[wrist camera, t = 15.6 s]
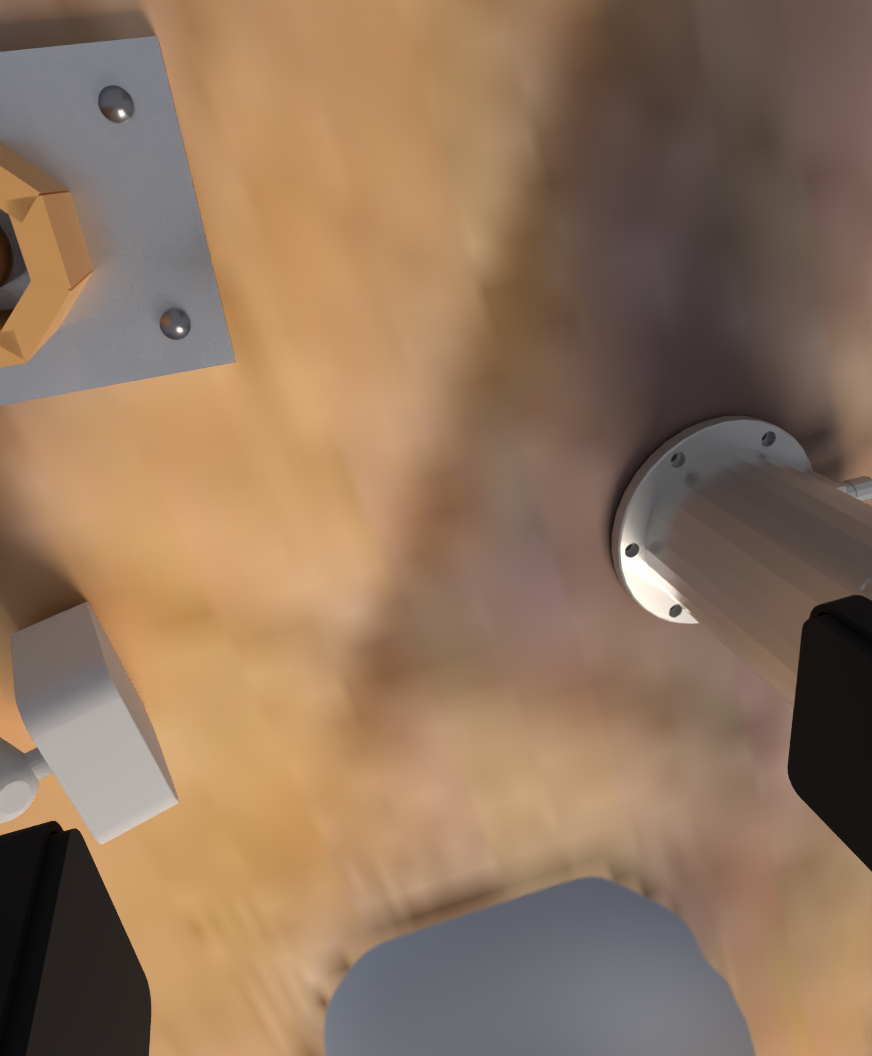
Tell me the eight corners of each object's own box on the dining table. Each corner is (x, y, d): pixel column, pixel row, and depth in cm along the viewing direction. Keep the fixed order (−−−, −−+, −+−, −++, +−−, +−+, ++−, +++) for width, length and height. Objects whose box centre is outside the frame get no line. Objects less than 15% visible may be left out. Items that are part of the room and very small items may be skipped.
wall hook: (-153, 675, 35) (-193, 813, 27) (79, 577, 38) (107, 671, 30) (-60, 801, 38) (-70, 956, 30) (144, 701, 42) (184, 815, 34)
